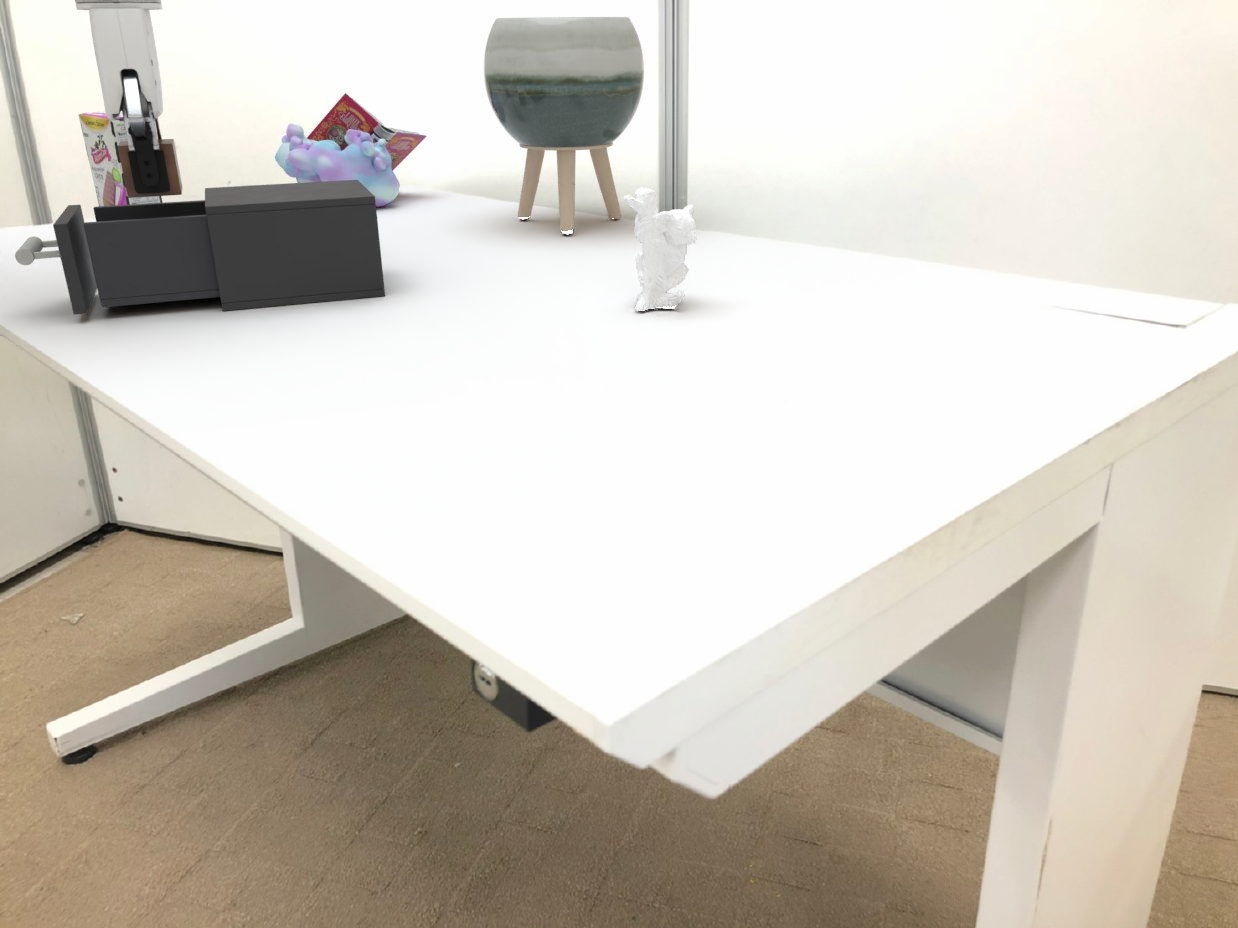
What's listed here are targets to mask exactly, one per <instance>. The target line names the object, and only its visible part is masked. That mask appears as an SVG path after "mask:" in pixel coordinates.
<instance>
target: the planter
mask: <svg viewBox="0 0 1238 928" xmlns="http://www.w3.org/2000/svg"><path fill="white" fill-rule="evenodd" d="M483 79H484V86H485V91H486V94H487V99H488V102H489V105H490V107H491V109H492V112H493V113H494V116H495V117H496V119H497V120H498V123H500V125H501V127H502V128H503V129H504V130H505V132H506V133H507V134H508V135H509V136H511V138H512V139H513V140H514V141H516V142H517V143H518V144H519V147H520V148H522V149H526V158H525V165H524V171H523V177H522V185H521V191H520V197H519V203H518V211H517V218H518V217H529V216H532V211H533V208H534V203H535V199H536V195H537V190H538V186H539V182H540V178H541V173H542V167H543V164H544V163H543V162H544V158H545V152H546V151H554V152H555V151H556V169H557V189H558V192H557V193H558V211H559V212H558V214H559V215H558V216H559V231H560V230H562V231H568V230H572V229H574V230H575V220H576V219H575V215H576V214H575V213H576V212H575V211H576V151H587V150H588V151H589V154H590V158H591V162H592V165H593V169H594V173H595V176H596V180H597V183H598V186H599V190H600V193H601V196H602V199H603V203H604V206H605V208H606V212H607V216H608V218H609V219H610V218H614V219H617V220H619V219H621V218H622V213H621V207H620V202H619V198H618V194H617V189H616V186H615V185H616V184H615V181H614V176H613V172H612V167H611V162H610V158H609V152H608V148H609V147H613V145H614V142H615V141H616V140H617V139H618V138H619V137H620V136H621V135H622V134H623V133H624V132H625V131H626V130H627V128H628V126H629V125H630V124H631V122H632V120H633V118H634V116H635V114H636V112H637V111H638V107H639V105H640V102H641V98H642V94H643V90H644V84H645V83H644V82H645V59H644V53H643V49H642V45H641V41H640V38H639V34H638V32H637V30H636V27H635V26H634V24H633V22H632V20H631V19H630V17H629V16H548V17H547V16H546V17H545V16H544V17H543V16H541V17H538V16H536V17H499V18H498V17H497V18H495V20H494V22H493V23H492V26H491V28H490V31H489V33H488V36H487V39H486V44H485V48H484V54H483Z"/></svg>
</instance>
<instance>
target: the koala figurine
mask: <svg viewBox="0 0 1238 928" xmlns="http://www.w3.org/2000/svg"><path fill="white" fill-rule="evenodd" d="M622 198H623V201H624V202H625V203H626V204H627V205H628V206H629V207H630V208H632V209H633V210H634V212H636V215H635V218H634V236H635V238H636V240H637V241H638V243H641V244H642V248H641V251H639V252H637V253H636V256H635V268H636V270H637V271H636V272H637V279H638V282H639V286H640V287H641V288H642V291H641V292H639V293H637V294H636V296H635V301H636V304H635V307H634V311H636V310H638V311H641V310H647V309H651V308H656V307H663V306H666V307H667V306H669V307H670V306H671V307H672V306H675V305H677V306H679V304H680V303H681V302H682V301H683V300H684V299H685V298H686V293H685V291H684V290H677V291H674V292H669V291H670V290H672V289H674V288H675V287H677V286H680V284H681V283H683V281H684V280H685V279H686V277H687V275H688V273H689V268H688V266H687V264H685V260H686V256H687V254H688V246H691V245H692V244H695V243H696V241H697V240H698V237H697V234H696V232H695V230H696V228H697V224H696V220H695V219H694V217H693V214H694V213H693V212H694V210H695V209H694V208H695V206H694V205H693V204H688V205H686V206H684V207H683V208H682V209H681V208H675V209H671V210H662V211H660V212H659V206H658V202H657V201H658V200H657V193H656V191H654V189H652V188H647V187H643V186H641V187H638V188H637V189H636V190H635V191H634V197H633V196H632V195H630V194H626V195H624V196H623V197H622ZM638 311H637V312H638ZM647 311H648V310H647Z"/></svg>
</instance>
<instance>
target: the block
mask: <svg viewBox="0 0 1238 928" xmlns="http://www.w3.org/2000/svg"><path fill="white" fill-rule="evenodd" d="M158 141H159V147H160V150H163V152H164V158H165V163H166V168H167V174H168V179H169V185H170V190H169V192H164V193H147V194H138V193H137V192H136V191H135V187H134V182H133V177H132V172H131V167H130V162H129V157H128V152H130V151H129V147H128V142H127V141H121V142H120V143H119V145H118V151H119V156H120V161H121V166H122V171H123V176H124V181H125V186H126V191H127V196H128V198H136V197H152V196H161V197H167V196H169V197H170V196H181V195H182V194H183V184H182V178H181V171H180V166H179V161H178V156H177V150H176V144H175V139H174V138H162V139H159V140H158Z"/></svg>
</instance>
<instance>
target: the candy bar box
mask: <svg viewBox="0 0 1238 928" xmlns="http://www.w3.org/2000/svg"><path fill="white" fill-rule="evenodd" d="M78 119H79V122H80V128H81V132H82V136H83V142H84V145H85V150H86V154H87V155H86V156H87V158H88V163H89V167H90V172H91V176H92V180H93V185H94V190H95V194H96V199H97V203H98V206H115V205H131V204H148V203H163V198H162V196H152V197H136V198H128V196H127V191H126V186H125V181H124V176H123V171H122V166H121V161H120V156H119V151H118V145H119V143H120V142H121V141H127V136H126V130H125V124H124V121H123V120H124V119H123V113H122V112H120V116H119V117H118V118H117V119H116V120H111V119H109V118H108V117H107V116H106V112H105V111H95V112H93V111H92V112H84V113H83V112H82V113H79V114H78Z"/></svg>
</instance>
